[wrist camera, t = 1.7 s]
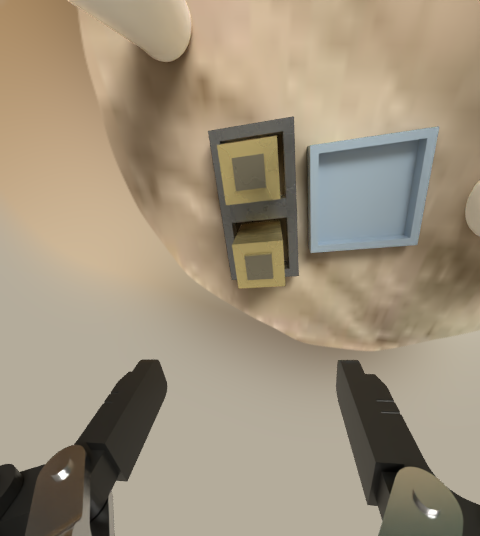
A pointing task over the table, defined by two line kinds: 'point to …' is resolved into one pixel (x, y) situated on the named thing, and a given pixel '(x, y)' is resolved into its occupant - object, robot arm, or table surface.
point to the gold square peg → (259, 255)
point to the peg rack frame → (260, 209)
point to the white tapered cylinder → (145, 23)
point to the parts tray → (369, 190)
